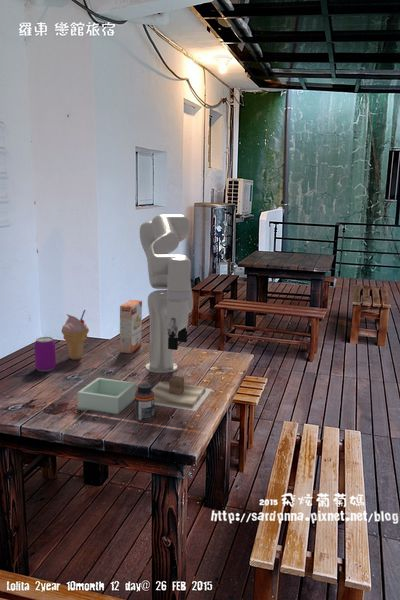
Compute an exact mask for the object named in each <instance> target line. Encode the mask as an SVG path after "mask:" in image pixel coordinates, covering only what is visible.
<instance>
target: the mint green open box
mask: <svg viewBox="0 0 400 600" xmlns="http://www.w3.org/2000/svg"><path fill="white" fill-rule="evenodd" d="M136 391H137V382H133V381H125V380H117V379H112V378H111V379H110V378H103V377H97V378H96V379H94V380H93V381H91V382H90V383H88V384H87V385H86V386H85V387H83V388H82V389H80V390H79V391H77V410H78V411H83V412H84V411H85V412H86V410H88V411H93V412H98V413H99V412H101V413H107V414H111V415H112V414H113V415H119V414H120V413H121V412H123V411H124V410H125V409H126V408H127V407H128V406H129V405H130V404H132V403H133V402H135V393H136Z"/></svg>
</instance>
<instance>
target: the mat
mask: <svg viewBox="0 0 400 600" xmlns="http://www.w3.org/2000/svg"><path fill="white" fill-rule="evenodd" d="M162 382H163V381H159V382H157V384H156V385H154V386H153V388H151V390H152V391H153V390H154V389H155V388H156V387H158V386H159V385H160V384H161V383H162ZM212 391H213V388H208V387H206V389H205V391H204V393H203V394H202V395H201V397H200V398H199V399H198V400H197V402H196V403H195V404H194V405H193V407H192V408H191V407H185V406H178V405H171V404H164V403H158V402H154V406H161V407H167V408H173V409H180V410H185V411H194V412H197V410H198V409H199V408H200V406H201V405H202V403H203V402H204V401H205V400H206V398H207V397H208V396H209V394H210V393H211V392H212Z"/></svg>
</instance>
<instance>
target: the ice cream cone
mask: <svg viewBox="0 0 400 600" xmlns="http://www.w3.org/2000/svg"><path fill="white" fill-rule="evenodd" d="M85 313H86V309H84V310H83V311H82V315H81V317H80V319H79V318H78V317H76V316H75V315H74V316H73V315H71V314H68V313H67V314H66V316H67V317H68V318H67V319H66V321H65V323H64V325H63V326H62V328H61V333H62V335H63V339H64V341H65V342H66V344H67V350H68V351H67V352H68V356H69V358H70V359H71V360H81V359H82V357H83V353H84V344H85V340H86V339H87V338H88V333H89V332H90V329H89V327H88V326H87V324H86V323H85V320H84V319H83V318H84V317H85Z"/></svg>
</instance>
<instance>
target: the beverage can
mask: <svg viewBox="0 0 400 600" xmlns="http://www.w3.org/2000/svg"><path fill="white" fill-rule="evenodd" d="M35 340H36V341H35V343H34V368H35V369H36V370H37V371H39V372H51V371H53V370H54V369H55V368H56V366H57V362H56V361H57V360H56V358H57V357H56V354H57V353H56V343H55V340H54V337H50V336H41V337H37V338H36V339H35Z"/></svg>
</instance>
